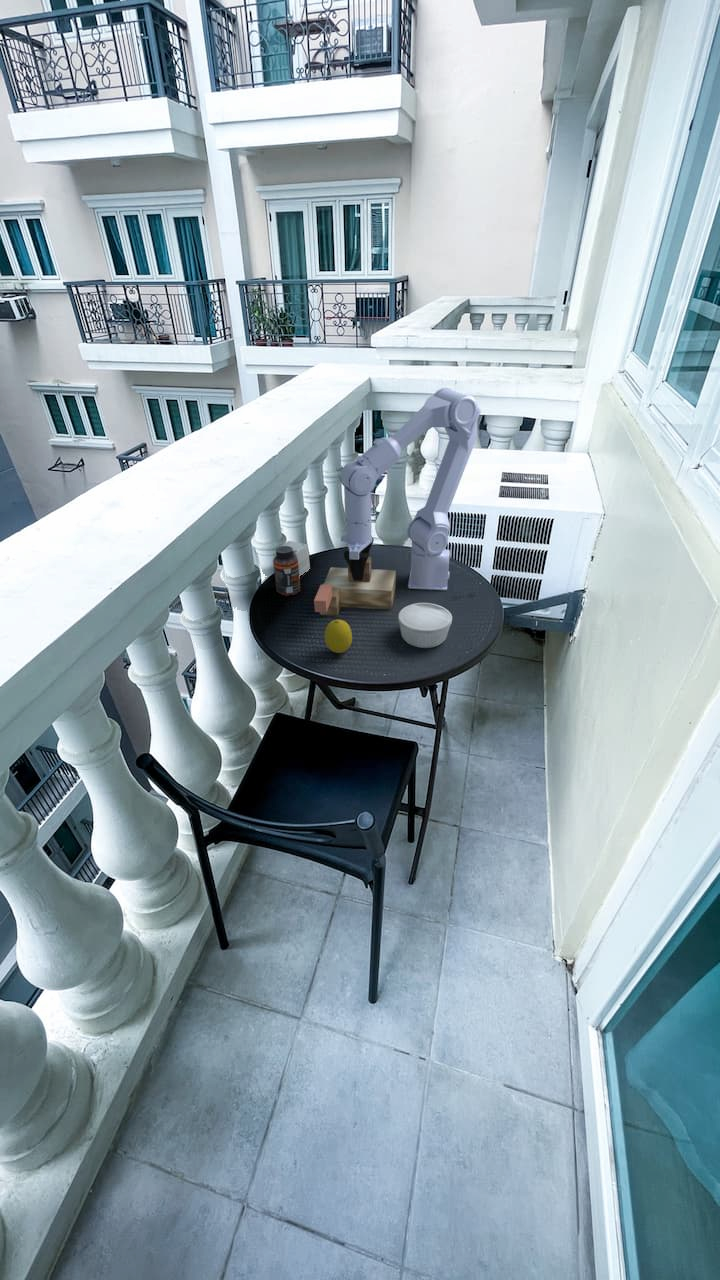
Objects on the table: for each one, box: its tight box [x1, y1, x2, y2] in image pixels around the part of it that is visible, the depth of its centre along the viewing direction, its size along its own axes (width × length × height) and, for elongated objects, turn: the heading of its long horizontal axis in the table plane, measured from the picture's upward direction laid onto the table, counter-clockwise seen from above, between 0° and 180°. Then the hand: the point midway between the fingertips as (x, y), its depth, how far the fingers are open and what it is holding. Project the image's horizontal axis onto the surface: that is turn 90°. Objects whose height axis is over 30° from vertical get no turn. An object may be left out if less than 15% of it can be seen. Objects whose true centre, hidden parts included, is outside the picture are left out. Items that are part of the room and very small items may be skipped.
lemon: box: [324, 619, 353, 654], centre depth 110 cm, size 6×6×8 cm
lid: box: [323, 556, 397, 595], centre depth 127 cm, size 16×10×6 cm, turn 82°
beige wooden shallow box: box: [319, 575, 397, 617], centre depth 128 cm, size 16×14×5 cm
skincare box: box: [281, 540, 311, 577], centre depth 140 cm, size 6×6×7 cm
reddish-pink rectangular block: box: [313, 583, 333, 613], centre depth 117 cm, size 2×7×3 cm, turn 172°
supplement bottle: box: [272, 545, 301, 597], centre depth 131 cm, size 6×6×11 cm
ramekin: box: [397, 602, 453, 649], centre depth 115 cm, size 11×11×5 cm
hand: (359, 574), depth 127 cm, fingers open, 5 cm apart
